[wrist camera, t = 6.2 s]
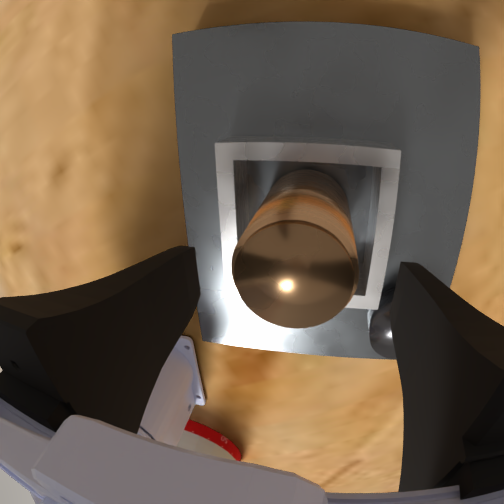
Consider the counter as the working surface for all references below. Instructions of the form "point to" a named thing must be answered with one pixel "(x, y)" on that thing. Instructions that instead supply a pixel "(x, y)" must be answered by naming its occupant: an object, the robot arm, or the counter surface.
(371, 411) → the counter surface
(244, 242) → the shiny metal cylinder
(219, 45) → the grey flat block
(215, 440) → the white and red dome
